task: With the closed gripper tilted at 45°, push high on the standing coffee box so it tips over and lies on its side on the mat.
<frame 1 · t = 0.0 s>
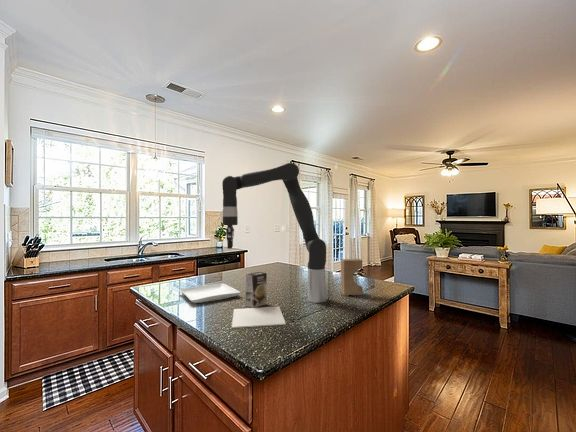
hand: (230, 247, 141), 29 cm above the counter, tool pointing down, fingers open, 8 cm apart
coffee box: (256, 305, 141), on the counter
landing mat: (257, 316, 124), on the counter
decorative block: (351, 294, 159), on the counter
square plate: (209, 297, 157), on the counter
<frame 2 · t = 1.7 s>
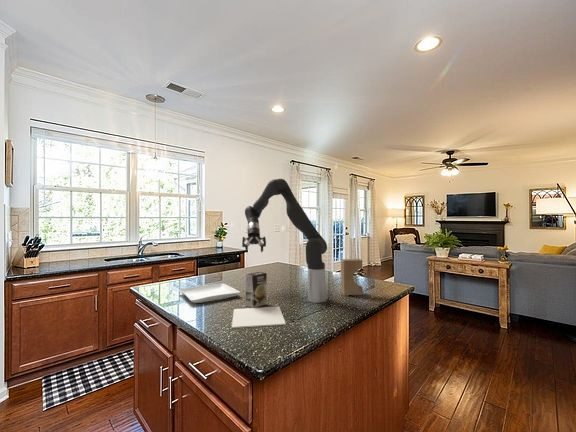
hand: (254, 251, 161), 25 cm above the counter, tool tilted 45°, fingers open, 8 cm apart
nothing on the counter moved.
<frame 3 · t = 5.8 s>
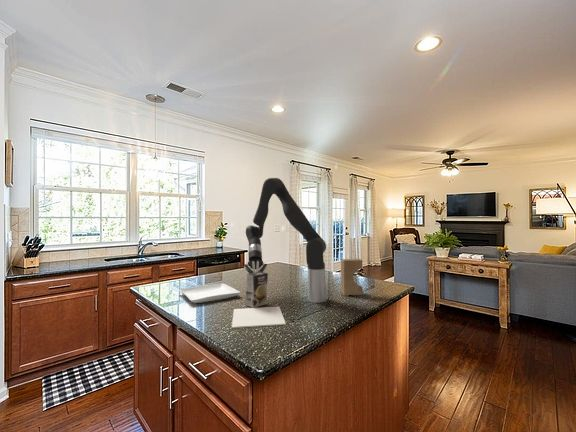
hand: (256, 279, 145), 12 cm above the counter, tool tilted 45°, fingers closed
coffee box: (256, 305, 141), on the counter, touching gripper
everything else where it was.
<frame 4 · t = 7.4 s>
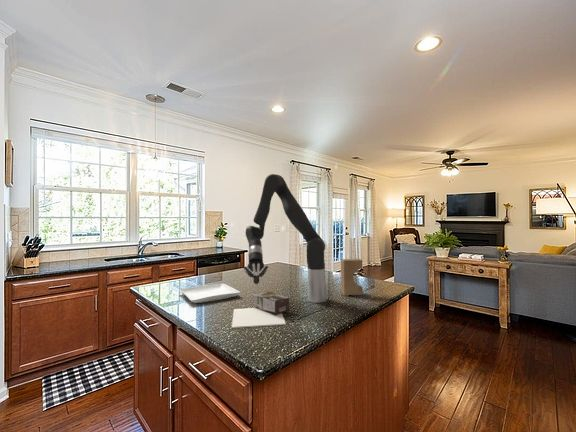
hand: (256, 283, 137), 12 cm above the counter, tool tilted 45°, fingers closed
coffee box: (260, 299, 138), point 4 cm above the counter, touching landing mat
everything else where it was.
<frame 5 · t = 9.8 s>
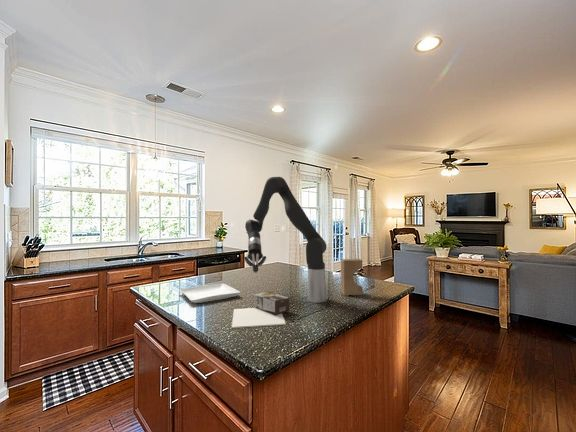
hand: (255, 271, 149), 15 cm above the counter, tool tilted 45°, fingers closed
nothing on the counter moved.
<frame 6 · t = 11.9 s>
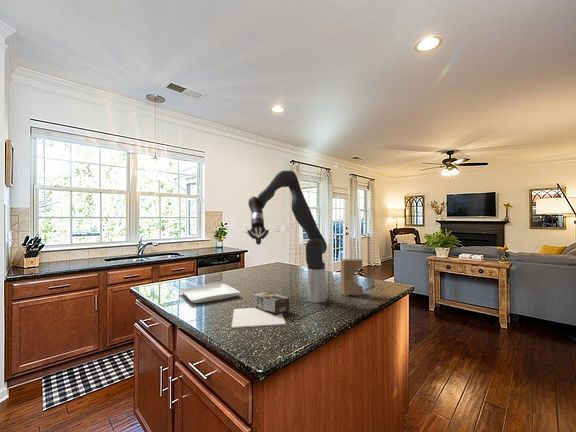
hand: (258, 243, 155), 30 cm above the counter, tool tilted 45°, fingers closed
nothing on the counter moved.
at the end: coffee box tilted 90°; coffee box inside the target area (5.0 cm from its centre), point 3.7 cm above the counter; coffee box touching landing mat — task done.
